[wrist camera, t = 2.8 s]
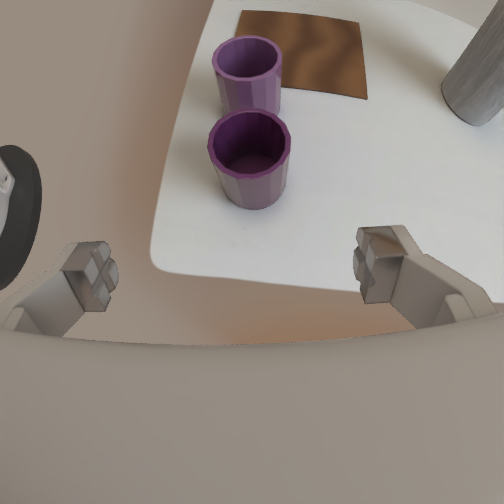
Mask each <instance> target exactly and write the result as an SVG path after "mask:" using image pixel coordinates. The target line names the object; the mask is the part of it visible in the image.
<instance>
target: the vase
mask: <svg viewBox="0 0 504 504" xmlns="http://www.w3.org/2000/svg"><path fill="white" fill-rule="evenodd" d="M442 92H443V95H444V98H445V100H446V102H447V103H448V105H449V106H450V107H451V109H452V110H453V111H454V112H455V113H456V114H457V115H458V116H459V117H460V118H462V119H463V120H464V121H466V122H468V123H470V124H472V125H476V126H481V125H484V124H485V123H487V122H488V121H489V120H490V119H491V118H493V117H494V116H495V115H496V114H497V113H498V112H499V111H500V110H501V109H503V108H504V0H498V2H497V3H496V5H495V6H494V8H493V9H492V11H491V12H490V14H489V16H488V17H487V18H486V20H485V22H484V23H483V25H482V26H481V27H480V29H479V30H478V32H477V33H476V35H475V36H474V38H473V39H472V40H471V42H470V43H469V45H468V46H467V48H466V49H465V50H464V52H463V53H462V55H461V56H460V58H459V59H458V60H457V62H456V63H455V65H454V66H453V67H452V69H451V70H450V72H449V73H448V74H447V76H446V77H445V79H444V80H443V82H442Z"/></svg>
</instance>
